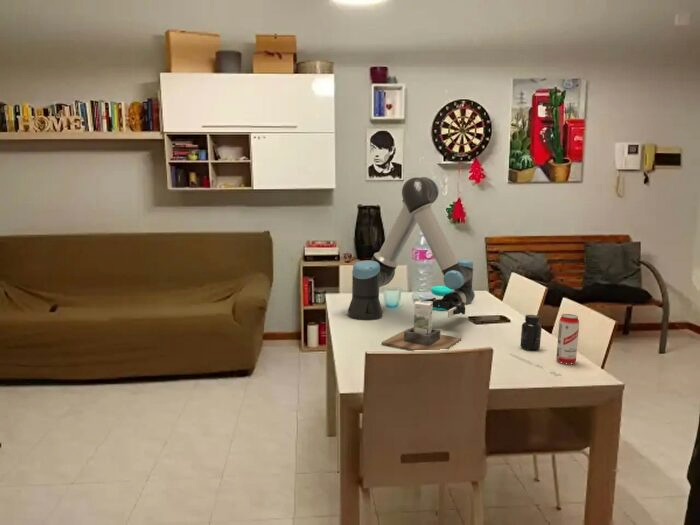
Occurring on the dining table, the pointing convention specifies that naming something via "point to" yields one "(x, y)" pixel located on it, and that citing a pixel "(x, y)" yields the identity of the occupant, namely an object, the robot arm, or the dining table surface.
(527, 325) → the supplement bottle
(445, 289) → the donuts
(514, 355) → the butter knife
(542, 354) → the dining table surface
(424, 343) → the collar board
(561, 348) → the beer can
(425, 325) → the syrup box
